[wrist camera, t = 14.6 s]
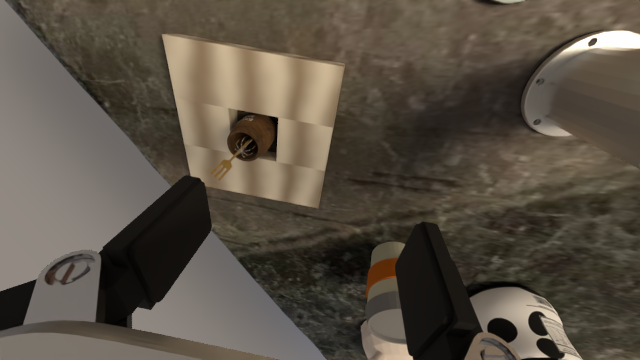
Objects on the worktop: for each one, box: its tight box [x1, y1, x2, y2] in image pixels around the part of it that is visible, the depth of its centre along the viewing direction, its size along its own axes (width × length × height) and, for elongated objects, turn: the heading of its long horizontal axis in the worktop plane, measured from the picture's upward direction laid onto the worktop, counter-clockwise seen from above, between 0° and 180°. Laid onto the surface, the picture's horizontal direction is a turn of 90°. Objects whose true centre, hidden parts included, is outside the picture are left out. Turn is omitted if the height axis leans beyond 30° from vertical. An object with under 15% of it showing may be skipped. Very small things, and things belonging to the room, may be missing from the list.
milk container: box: [469, 285, 582, 360], centre depth 48 cm, size 17×17×18 cm
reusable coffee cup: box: [365, 242, 407, 345], centre depth 46 cm, size 12×13×15 cm
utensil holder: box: [210, 113, 276, 181], centre depth 34 cm, size 6×6×12 cm
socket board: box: [162, 33, 345, 208], centre depth 38 cm, size 24×24×3 cm
